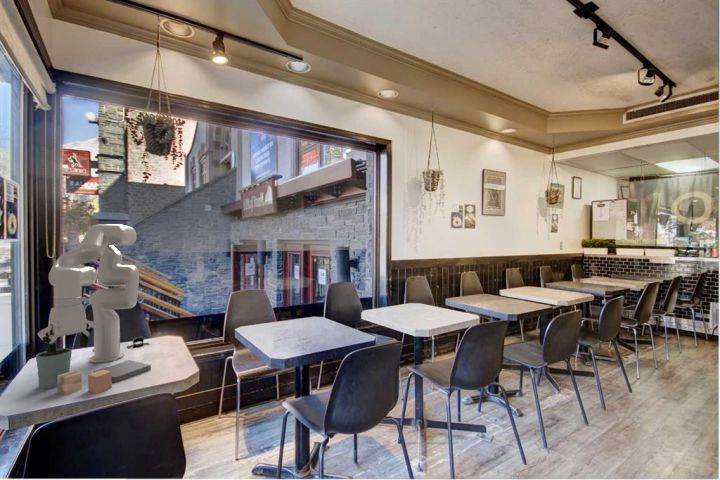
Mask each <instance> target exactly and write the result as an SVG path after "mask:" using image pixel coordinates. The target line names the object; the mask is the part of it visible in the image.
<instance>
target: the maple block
mask: <svg viewBox="0 0 720 480" xmlns="http://www.w3.org/2000/svg"><path fill="white" fill-rule="evenodd" d="M82 375H83V374H82V372H80V371H76V370H72V371H71V370H70V371H69V372H68V373H64V374H61V375H58V387H57V393H59V394H62V395H69V394H72V393H74V392H77V391H81V390H82V389H83V383H82V382H83V379H82V377H83V376H82Z"/></svg>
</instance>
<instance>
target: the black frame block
mask: <svg viewBox="0 0 720 480" xmlns="http://www.w3.org/2000/svg"><path fill="white" fill-rule="evenodd" d="M144 341H145V340H144V338H143V336H136V337H133V339H132V344H131V345H127V346H126V348H127V349H128V350H130V349H136V348H140V347H141V348H142V347H145V346H151V343H149V342H144Z"/></svg>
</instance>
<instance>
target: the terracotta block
mask: <svg viewBox="0 0 720 480" xmlns="http://www.w3.org/2000/svg"><path fill="white" fill-rule="evenodd" d="M99 370H100V369H99ZM96 371H97V370H96ZM87 381H88V383H87V389H88V390H87V391H88V392H91V393H94V394H99V393H102V392H105V391H107V390H109V389H112V387H113V385H112V383H113V382H112V378H111V372H110V371H106V370H100V371H97V372H94V371H93V372H92V373H89V374H87Z"/></svg>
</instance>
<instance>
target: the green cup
mask: <svg viewBox="0 0 720 480" xmlns="http://www.w3.org/2000/svg"><path fill="white" fill-rule="evenodd" d="M72 353H73V350H72V348H66V347H65V348H64V347H63V348H56V354H55V355H50V354H49V353H48V352H47V350H46V351H45V350H44V351H41V352H39V353H37V354H36V355H35V359H36V368H37V377H38V387H39V389H41V390H49V389H54V387H55V388H58V375H61V374H64V373H68V372H71V370H70V369H71V360H72V359H71V358H72Z"/></svg>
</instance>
